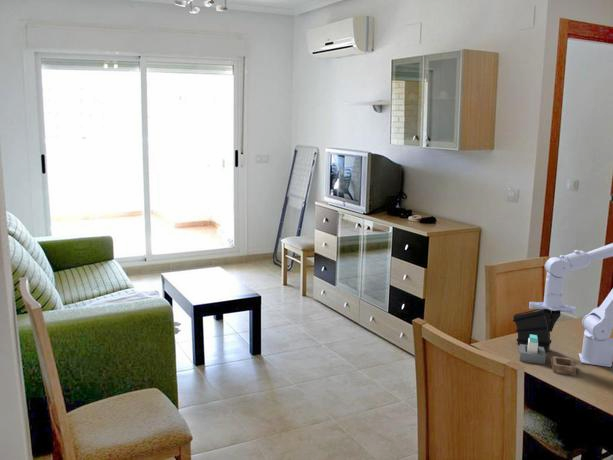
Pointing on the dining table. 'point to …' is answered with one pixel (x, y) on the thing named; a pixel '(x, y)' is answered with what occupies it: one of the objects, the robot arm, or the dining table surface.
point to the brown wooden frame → (563, 365)
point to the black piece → (532, 328)
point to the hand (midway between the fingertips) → (549, 330)
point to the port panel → (532, 355)
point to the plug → (532, 344)
